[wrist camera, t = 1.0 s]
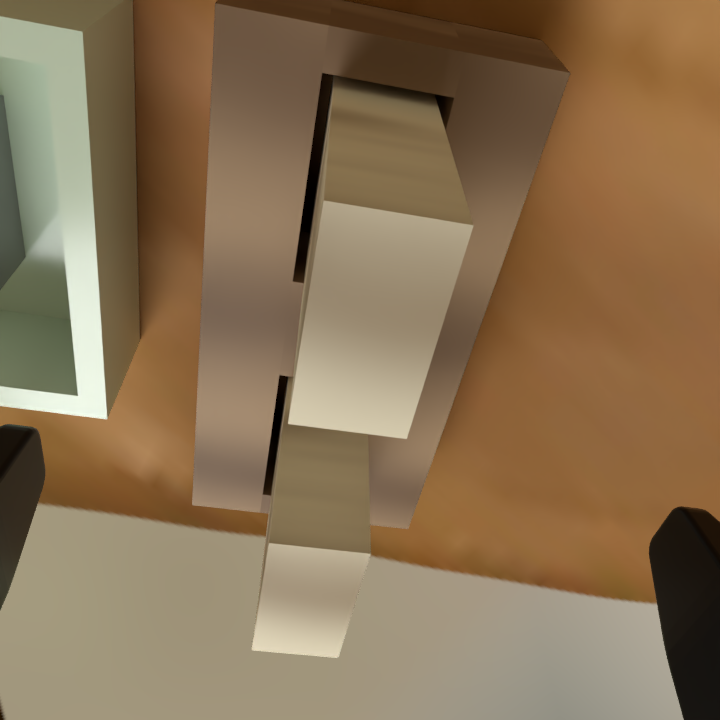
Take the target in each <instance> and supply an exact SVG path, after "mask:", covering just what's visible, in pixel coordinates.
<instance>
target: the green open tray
mask: <svg viewBox="0 0 720 720" xmlns="http://www.w3.org/2000/svg"><path fill="white" fill-rule="evenodd" d="M139 342H140V313H139V266H138V219H137V172H136V124H135V77H134V30H133V0H0V406H5V407H13V408H21V409H29V410H37V411H45V412H53V413H61V414H69V415H77V416H85V417H93V418H101V419H108V416H109V414H110V411H111V409H112V407H113V404H114V402H115V399H116V397H117V395H118V392H119V390H120V387H121V385H122V383H123V380H124V378H125V376H126V373H127V371H128V368H129V366H130V364H131V361H132V359H133V356H134V354H135V352H136V349H137V347H138V344H139Z"/></svg>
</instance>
